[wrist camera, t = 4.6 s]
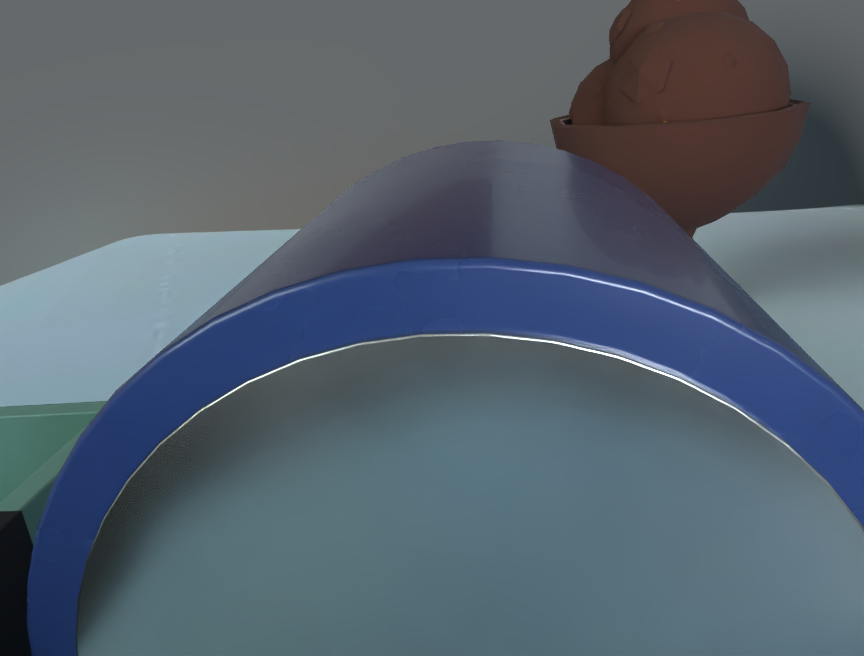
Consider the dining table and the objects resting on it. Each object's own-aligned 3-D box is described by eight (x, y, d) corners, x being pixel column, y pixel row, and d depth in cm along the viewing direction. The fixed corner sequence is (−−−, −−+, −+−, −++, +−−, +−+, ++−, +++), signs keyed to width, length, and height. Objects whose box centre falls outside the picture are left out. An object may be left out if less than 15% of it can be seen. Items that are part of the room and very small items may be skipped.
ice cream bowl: (525, 298, 41) (508, 0, 36) (710, 267, 43) (717, -19, 38) (613, 368, 31) (606, -30, 26) (847, 323, 33) (883, -54, 28)
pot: (309, 566, 21) (227, 167, 17) (720, 551, 19) (727, 112, 16) (145, 997, 11) (-121, 311, 8) (925, 1026, 10) (1065, 205, 6)
